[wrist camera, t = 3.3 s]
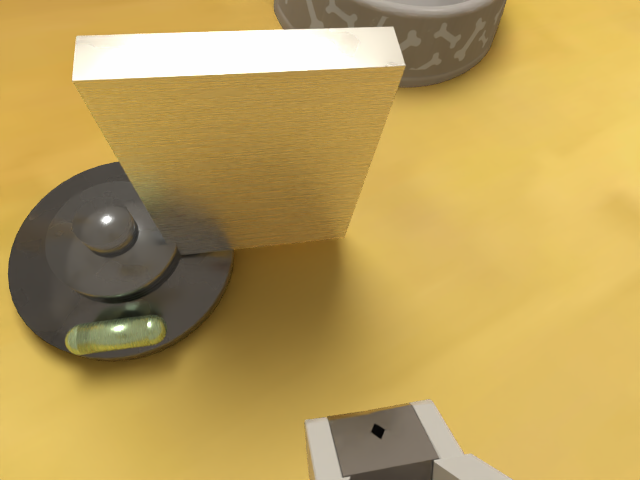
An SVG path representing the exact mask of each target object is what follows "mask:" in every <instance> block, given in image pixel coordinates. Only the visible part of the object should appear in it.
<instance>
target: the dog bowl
mask: <svg viewBox="0 0 640 480" xmlns="http://www.w3.org/2000/svg"><path fill="white" fill-rule="evenodd" d="M505 4H506V0H274V12H275V14H276V16H277V19H278V21H279V23H280V24H281V26H282V28H283V29H284V30H294V29H328V28H361V27H394V30H395V34H396V37H397V40H398V43H399V46H400V49H401V53H402V56H403V59H404V62H405V65H406V66H405V69H404V72H403V75H402V78H401V80H400V83H399V86H398V87H421V86H428V85H433V84H437V83H441V82H444V81H447V80H450V79H452V78H455V77H457V76H459V75H461V74H463V73H465V72H466V71H468V70H470V69H471V68H472V67H474V66H475V65H476V64H477V63H478V62H480V61H481V60H482V58H483V57H484V56H485V55H486V54H487V52H488V51H489V49H490V47H491V44H492V41H493V39H494V36H495V33H496V30H497V28H498V25H499V22H500V19H501V16H502V13H503V10H504V7H505Z"/></svg>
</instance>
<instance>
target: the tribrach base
mask: <svg viewBox="0 0 640 480" xmlns="http://www.w3.org/2000/svg"><path fill="white" fill-rule="evenodd" d="M114 181H127V182H131V181H130V180H129V178H128V176H127V174H126V173H125V171H124V169H123V168H122V166H121V164H120V162H114V163H110V164H105V165H101V166H98V167H95V168H92V169H89V170H86V171H84V172H82V173H80V174H77V175H75V176H73V177H72V178H70V179H68V180H66V181H65V182H63V183H61V184H60V185H59V186H57V187H56V188H55V189H53V190H52V191H51V192H49V193H48V194H47V195H46V196H45V197H44V198H43V199H42V200H41V201H40V202H39V203H38V204H37V205H36V206H35V207H34V208H33V210H32V211H31V212H30V213H29V215H28V216H27V218H26V219H25V221H24V222H23V224H22V226H21V227H20V229H19V231H18V233H17V235H16V238H15V240H14V243H13V246H12V249H11V254H10V258H9V267H8V279H9V289H10V292H11V296H12V300H13V302H14V305H15V307H16V309H17V311H18V313H19V315H20V316H21V318H22V319H23V320H24V322H25V323H26V325H27V326H28V327H29V328H30V329H31V330H32V331H33V332H34V333H35V334H36V335H38V336H39V337H40V338H42V339H43V340H44V341H46V342H47V343H49V344H51V345H53V346H55V347H57V348H59V349H61V350H63V351H66V352H69V353H72V354H74V355H77V356H80V357H83V358H88V359H94V360H101V361H121V360H131V359H136V358H141V357H145V356H148V355H151V354H154V353H157V352H160V351H162V350H164V349H166V348H168V347H170V346H172V345H174V344H176V343H177V342H179V341H181V340H182V339H184V338H185V337H187V336H188V335H189V334H191V333H192V332H193V331H194V330H196V329H197V328H198V327H199V326H200V325H201V324H202V323H203V322H204V321H205V320H206V319H207V318H208V317H209V316H210V314H211V313H212V312H213V310H214V309H215V308H216V307H217V305H218V303H219V302H220V300H221V298H222V296H223V295H224V293H225V290H226V288H227V286H228V283H229V280H230V277H231V273H232V270H233V262H234V250H224V251H215V252H206V253H196V254H187V255H181V258H180V261H179V263H178V265H177V267H176V269H175V271H174V272H173V274H172V275H171V276H170V277H169V279H168V280H167V281H166V282H165V283H164V284H163V285H162V286H161V287H159V288H158V289H157V290H155V291H154V292H152V293H150V294H149V295H147V296H145V297H142V298H140V299H138V300H134V301H131V302H126V303H119V304H107V303H100V302H95V301H92V300H89V299H87V298H85V297H83V296H81V295H80V294H79V293H77V292H76V291H74V290H73V289H71V288H70V287H69V286H67V285H66V284H64V283H63V282H62V281H61V280H60V279H58V278H57V277H56V275H55V274H54V273H53V271H52V270H51V268H50V266H49V264H48V261H47V258H46V252H45V240H46V234H47V231H48V228H49V225H50V223H51V221H52V219H53V218H54V216H55V215H56V213H57V212H58V211H59V210H60V208H61V207H62V206H63V205H64V204H65V203H66V202H67V201H68V200H70V199H71V198H72V197H74V196H75V195H76V194H78V193H80V192H82V191H83V190H85V189H88V188H90V187H92V186H95V185H98V184H102V183H106V182H114Z"/></svg>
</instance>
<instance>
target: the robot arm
mask: <svg viewBox="0 0 640 480" xmlns="http://www.w3.org/2000/svg"><path fill="white" fill-rule="evenodd" d="M304 424H305V437H306V449H307V461H308V470H309V479H310V480H513V479H511V478H509V477H508V476H506V475H505V474H503V473H501V472H500V471H498V470H497V469H495V468H493V467H492V466H490V465H489V464H487V463H485V462H484V461H482V460H481V459H479V458H477V457H476V456H474V455H473V454H464V453H463V451H462V449H461V448H460V446H459V444H458V443H457V441H456V439H455V438H454V436H453V434H452V433H451V431H450V429H449V428H448V426H447V424H446V423H445V421H444V419H443V418H442V416H441V414H440V413H439V411H438V409H437V408H436V406H435V404H434V403H433V401H431V400H430V399H428V400H422V401H416V402H411V403H409V404H408V403H406V404H400V405H395V406H389V407H384V408H378V409H372V410H368V411H361V412H354V413H347V414H340V415H333V416H327V418H326V417H323V418H316V419H308V420H305V423H304Z"/></svg>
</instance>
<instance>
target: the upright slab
mask: <svg viewBox="0 0 640 480" xmlns="http://www.w3.org/2000/svg"><path fill="white" fill-rule="evenodd" d="M405 66H406V65H405V62H404V59H403V56H402V53H401V49H400V46H399V43H398V40H397V37H396V34H395V30H394V27H361V28H328V29H294V30H261V31H228V32H194V33H161V34H127V35H94V36H76V45H75V55H74V66H73V76H72V81H73V83H74V85H75V87H76V88H77V90H78V92H79V94H80V95H81V97H82V99H83V100H84V102H85V104H86V106H87V107H88V109H89V111H90V112H91V114H92V116H93V118H94V119H95V121H96V123H97V125H98V126H99V128H100V130H101V131H102V133H103V135H104V137H105V138H106V140H107V142H108V143H109V145H110V147H111V149H112V150H113V152H114V154H115V156H116V157H117V159H118V161H119V162H120V164H121V166H122V168H123V169H124V171H125V173H126V174H127V176H128V178H129V180H130V181H131V182H127V181H114V182H106V183H102V184H98V185H95V186H92V187H90V188H88V189H85V190H83V191H82V192H80V193H78V194H76V195H75V196H74V197H72V198H71V199H70V200H68V201H67V202H66V203H65V204H64V205H63V206H62V207H61V208H60V210H59V211H58V212H57V213H56V215H55V216H54V218H53V219H52V221H51V223H50V225H49V228H48V231H47V234H46V240H45V252H46V258H47V261H48V264H49V266H50V268H51V270H52V271H53V273H54V274H55V275H56V277H57V278H58V279H60V280H61V281H62V282H63V283H64V284H66V285H67V286H69V287H70V288H71V289H73V290H74V291H76V292H77V293H79V294H80V295H81V296H83V297H85V298H87V299H89V300H92V301H95V302H100V303H107V304H119V303H126V302H131V301H134V300H138V299H140V298H142V297H145V296H147V295H149V294H150V293H152V292H154V291H155V290H157V289H158V288H159V287H161V286H162V285H163V284H164V283H165V282H166V281H167V280H168V279H169V277H170V276H171V275H172V274H173V272H174V271H175V269H176V267H177V265H178V263H179V261H180V258H181V255H187V254H196V253H206V252H215V251H224V250H234V249H243V248H253V247H262V246H271V245H281V244H290V243H300V242H309V241H318V240H328V239H337V238H344V237H345V235H346V232H347V229H348V226H349V223H350V221H351V218H352V215H353V212H354V209H355V207H356V204H357V201H358V198H359V195H360V192H361V190H362V187H363V184H364V181H365V178H366V176H367V173H368V170H369V167H370V164H371V162H372V159H373V156H374V153H375V150H376V148H377V145H378V142H379V139H380V136H381V134H382V131H383V128H384V125H385V122H386V120H387V117H388V114H389V111H390V108H391V106H392V103H393V100H394V97H395V94H396V92H397V89H398V86H399V83H400V80H401V78H402V75H403V72H404V69H405Z"/></svg>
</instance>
